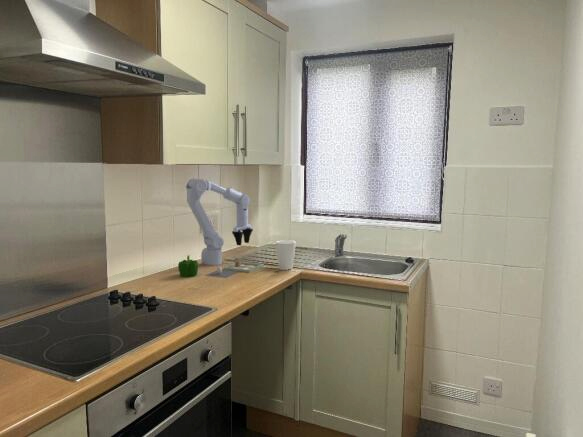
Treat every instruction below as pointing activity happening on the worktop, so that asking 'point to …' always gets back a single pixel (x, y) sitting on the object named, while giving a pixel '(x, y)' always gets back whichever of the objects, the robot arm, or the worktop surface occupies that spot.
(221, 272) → the stake board
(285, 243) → the foam cup
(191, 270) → the bell pepper
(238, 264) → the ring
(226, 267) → the tray
